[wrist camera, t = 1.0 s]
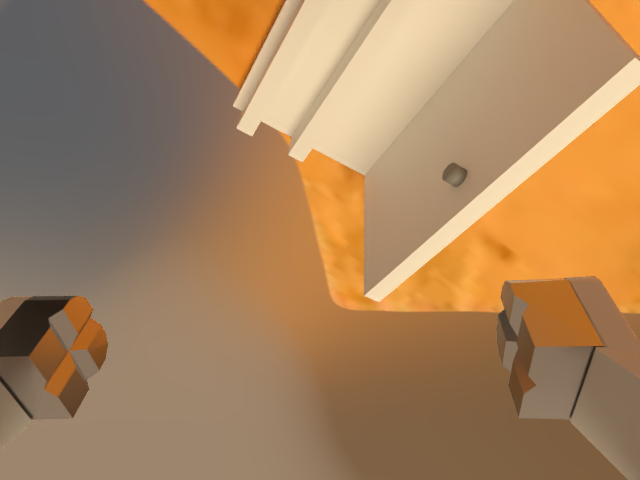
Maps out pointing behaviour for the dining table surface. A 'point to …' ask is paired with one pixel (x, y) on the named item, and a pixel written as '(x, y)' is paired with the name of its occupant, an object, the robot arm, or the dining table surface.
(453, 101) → the picture ledge
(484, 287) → the dining table surface
